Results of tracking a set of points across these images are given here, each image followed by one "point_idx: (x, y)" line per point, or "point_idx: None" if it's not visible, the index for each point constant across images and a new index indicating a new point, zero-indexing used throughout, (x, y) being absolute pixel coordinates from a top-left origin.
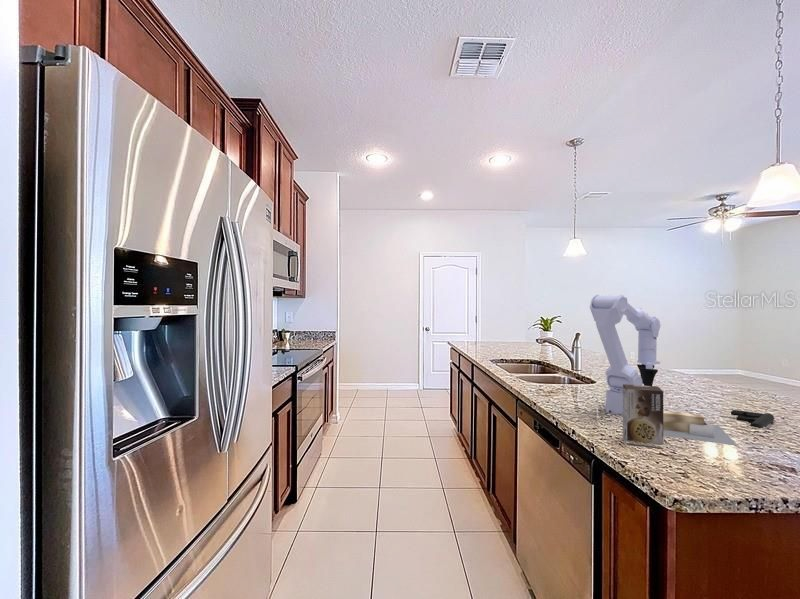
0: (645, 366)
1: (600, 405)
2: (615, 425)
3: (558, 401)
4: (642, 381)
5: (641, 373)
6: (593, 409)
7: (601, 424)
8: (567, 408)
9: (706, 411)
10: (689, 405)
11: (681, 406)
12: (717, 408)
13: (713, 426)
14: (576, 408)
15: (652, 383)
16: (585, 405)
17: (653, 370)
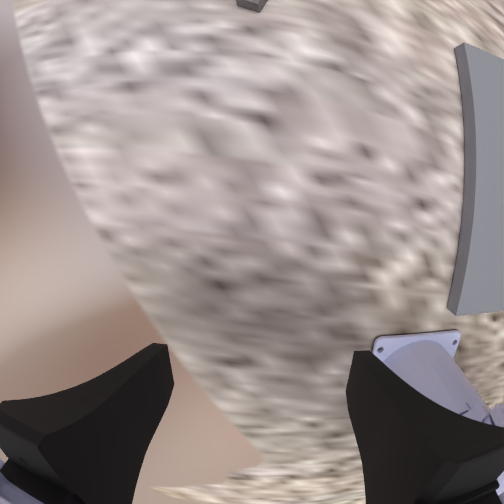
0: (97, 498)
1: (252, 433)
2: (497, 377)
3: (265, 499)
4: (169, 397)
5: (139, 454)
6: (331, 447)
7: (489, 404)
8: (345, 484)
9: (117, 18)
10: (41, 84)
11: (67, 109)
12: (58, 3)
13: (490, 70)
14: (337, 473)
15: (392, 371)
16: (281, 462)
17: (501, 468)
